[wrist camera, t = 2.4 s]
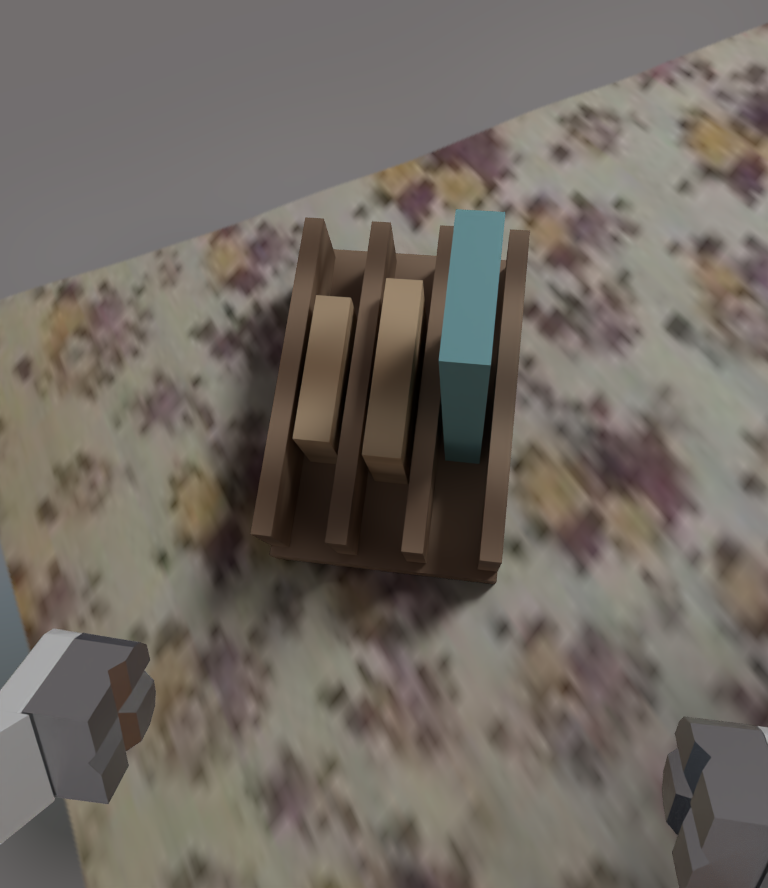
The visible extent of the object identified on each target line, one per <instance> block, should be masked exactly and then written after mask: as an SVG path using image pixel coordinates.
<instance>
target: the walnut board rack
mask: <svg viewBox="0 0 768 888" xmlns="http://www.w3.org/2000/svg"><path fill="white" fill-rule="evenodd" d="M453 231H454V226H441V225H440V232H439V240H438V248H437V256H430V255H414V254H398V253H395V246H394V240H393V233H392V227H391V223H389V222H372V225H371V232H370V239H369V245H368V252H367V251H351V250H335V249H333V247H332V244H331V241H330V237H329V234H328V231H327V228H326V224H325V221H324V219H321V218H305V222H304V228H303V234H302V240H301V245H300V251H299V257H298V263H297V268H296V274H295V280H294V286H293V291H292V297H291V303H290V309H289V314H288V320H287V326H286V332H285V337H284V343H283V349H282V355H281V360H280V366H279V372H278V378H277V384H276V389H275V395H274V401H273V407H272V412H271V418H270V424H269V430H268V435H267V441H266V447H265V453H264V458H263V464H262V470H261V476H260V481H259V487H258V493H257V499H256V504H255V510H254V516H253V522H252V527H251V533H250V534H252V535H253V536H255V537H257V538H259V539H260V540H262V541H264V542H266V543H268V544H269V545H271V548H270V554H269V555H271V556H273V557H275V558H278V559H286V560H295V561H303V562H311V563H320V564H328V565H337V566H345V567H353V568H362V569H370V570H379V571H387V572H395V573H404V574H412V575H421V576H429V577H437V578H446V579H454V580H463V581H471V582H479V583H488V584H495V583H496V581H497V571H498V569H499V567H500V565H501V563H502V554H503V542H504V531H505V519H506V507H507V495H508V483H509V472H510V460H511V448H512V436H513V424H514V412H515V401H516V389H517V377H518V365H519V353H520V342H521V330H522V318H523V306H524V294H525V282H526V271H527V259H528V247H529V235H530V231H526V230H510V235H509V243H508V251H507V259H506V260H501V263H500V273H499V284H498V294H497V305H496V315H495V326H494V336H493V347H492V357H491V368H490V376H489V385H488V393H487V402H486V411H485V419H484V428H483V437H482V445H481V454H480V463H479V464H475V463H465V462H455V461H445V449H444V434H443V419H442V404H441V389H440V374H439V353H440V345H441V336H442V327H443V318H444V310H445V301H446V292H447V283H448V275H449V266H450V257H451V249H452V240H453ZM386 278H394V279H409V280H423V288H424V299H425V309H426V320H427V334H426V343H425V351H424V359H423V368H422V376H421V384H420V392H419V401H418V409H417V417H416V426H415V434H414V442H413V451H412V459H411V467H410V476H409V484H398V483H388V482H379V481H374V479H373V477H372V474H371V472H370V470H369V468H368V466H367V464H366V462H365V460H364V458H363V456H362V450H363V442H364V435H365V428H366V421H367V413H368V406H369V399H370V392H371V385H372V377H373V370H374V363H375V356H376V348H377V341H378V334H379V327H380V320H381V312H382V305H383V298H384V291H385V283H386ZM316 295H321V296H335V297H349V298H351V299H352V303H353V306H354V309H355V312H356V316H357V319H358V320H357V327H356V334H355V340H354V347H353V354H352V361H351V368H350V374H349V381H348V388H347V395H346V402H345V408H344V415H343V422H342V429H341V436H340V442H339V449H338V456H337V463H336V464H329V463H319V462H310V460H309V459H308V458H307V456H306V455H305V454H304V453H303V451H302V450H301V449H300V448H299V446H298V445H297V444H296V442H295V441H294V440H293V433H294V427H295V421H296V415H297V408H298V402H299V396H300V390H301V384H302V378H303V372H304V366H305V360H306V354H307V348H308V342H309V335H310V329H311V323H312V317H313V311H314V305H315V299H316Z"/></svg>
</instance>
